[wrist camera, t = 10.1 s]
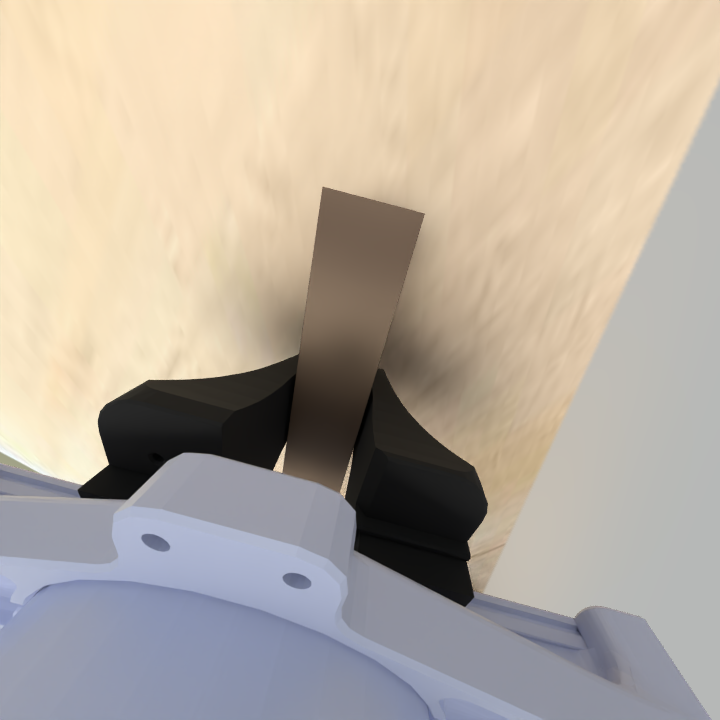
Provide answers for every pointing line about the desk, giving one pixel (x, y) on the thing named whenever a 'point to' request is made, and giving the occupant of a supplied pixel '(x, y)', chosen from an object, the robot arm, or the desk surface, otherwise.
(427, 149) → the desk surface
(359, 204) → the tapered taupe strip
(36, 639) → the robot arm
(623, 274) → the desk surface
